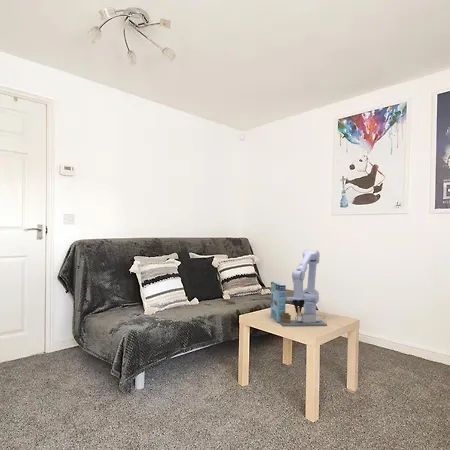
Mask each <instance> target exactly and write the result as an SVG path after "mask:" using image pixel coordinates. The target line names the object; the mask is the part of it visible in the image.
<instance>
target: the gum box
mask: <svg viewBox="0 0 450 450" xmlns="http://www.w3.org/2000/svg"><path fill="white" fill-rule="evenodd" d="M286 286H287V285H286V284H284V283H281V282H278V281H270V316H271V318H273V319H274V320H275V321H276V322H277V323H278V324H280V321H281V313H286V292H287V291H286V289H287V288H286Z"/></svg>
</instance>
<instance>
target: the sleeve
mask: <svg viewBox="0 0 450 450" xmlns="http://www.w3.org/2000/svg"><path fill="white" fill-rule="evenodd" d="M300 315H302V321H301V322H302V323H316V315H317V314H316V315H315V314H314V313H304V312H301V313H300Z"/></svg>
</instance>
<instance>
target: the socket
mask: <svg viewBox="0 0 450 450" xmlns="http://www.w3.org/2000/svg"><path fill="white" fill-rule="evenodd" d="M291 318H292V317H291V314H290V313H289V312H285V313H281V322H282V323H291V320H292V319H291Z"/></svg>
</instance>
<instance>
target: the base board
mask: <svg viewBox="0 0 450 450" xmlns="http://www.w3.org/2000/svg"><path fill="white" fill-rule="evenodd" d="M279 324H280V325H281V326H282V327H327V326H328V324H327V322H325V321H324V320H322V319H320V321H316V323H302V322H301V321H297V319H291V323H282V322H281V321H280V323H279Z"/></svg>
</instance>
